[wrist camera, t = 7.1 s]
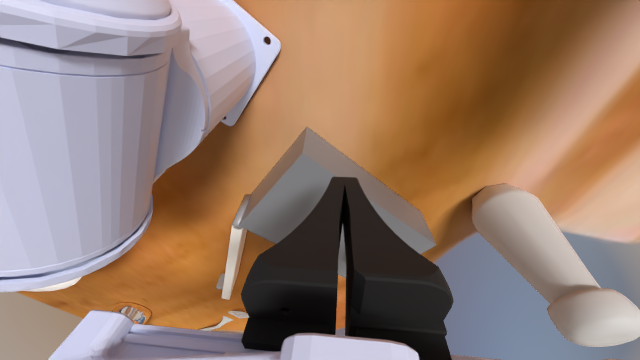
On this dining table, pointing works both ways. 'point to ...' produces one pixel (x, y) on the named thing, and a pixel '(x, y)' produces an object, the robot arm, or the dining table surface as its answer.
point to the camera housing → (308, 188)
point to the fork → (227, 319)
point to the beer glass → (133, 312)
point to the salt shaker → (553, 268)
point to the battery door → (234, 253)
